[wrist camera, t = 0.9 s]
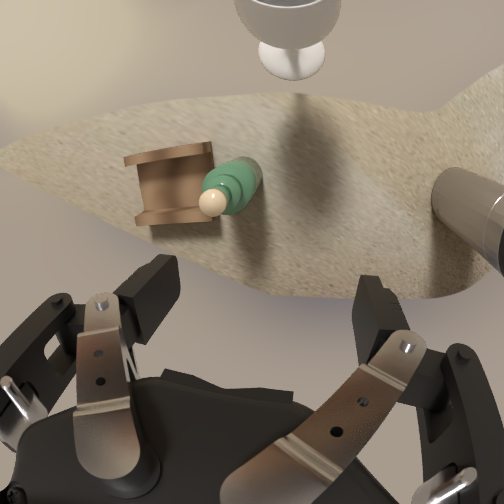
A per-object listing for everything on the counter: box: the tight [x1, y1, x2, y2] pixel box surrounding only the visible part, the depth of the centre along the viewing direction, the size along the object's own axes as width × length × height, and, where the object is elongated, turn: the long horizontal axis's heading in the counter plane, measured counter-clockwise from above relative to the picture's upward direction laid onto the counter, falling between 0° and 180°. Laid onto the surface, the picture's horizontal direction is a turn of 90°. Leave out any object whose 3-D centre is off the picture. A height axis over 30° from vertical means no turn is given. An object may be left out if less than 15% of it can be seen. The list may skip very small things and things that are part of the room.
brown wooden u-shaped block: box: [124, 141, 216, 226], centre depth 37 cm, size 12×10×4 cm
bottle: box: [199, 157, 262, 217], centre depth 30 cm, size 5×5×15 cm
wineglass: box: [234, 0, 341, 80], centre depth 19 cm, size 9×9×21 cm
